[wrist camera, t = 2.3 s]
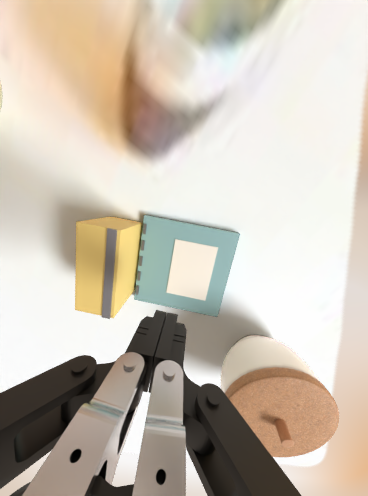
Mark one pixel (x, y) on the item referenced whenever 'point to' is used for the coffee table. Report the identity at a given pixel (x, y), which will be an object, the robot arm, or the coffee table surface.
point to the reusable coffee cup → (0, 95)
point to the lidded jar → (278, 396)
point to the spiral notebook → (184, 265)
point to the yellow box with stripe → (106, 264)
